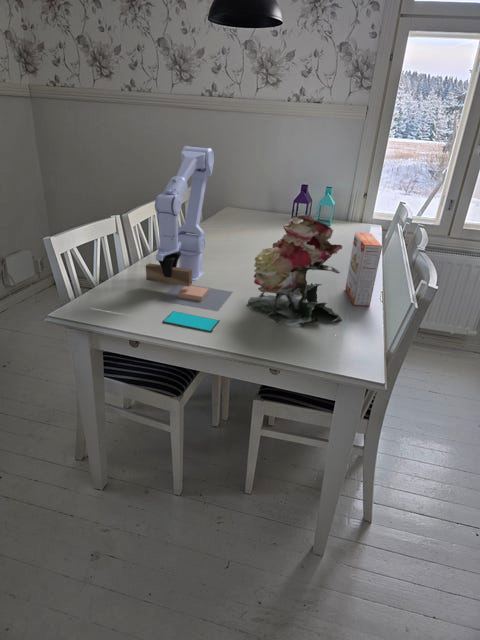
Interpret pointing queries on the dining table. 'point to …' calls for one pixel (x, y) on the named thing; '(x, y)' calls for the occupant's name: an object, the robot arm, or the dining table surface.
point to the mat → (210, 302)
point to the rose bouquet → (293, 272)
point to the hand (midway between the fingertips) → (169, 275)
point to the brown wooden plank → (177, 277)
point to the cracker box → (363, 268)
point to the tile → (193, 293)
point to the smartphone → (191, 321)
